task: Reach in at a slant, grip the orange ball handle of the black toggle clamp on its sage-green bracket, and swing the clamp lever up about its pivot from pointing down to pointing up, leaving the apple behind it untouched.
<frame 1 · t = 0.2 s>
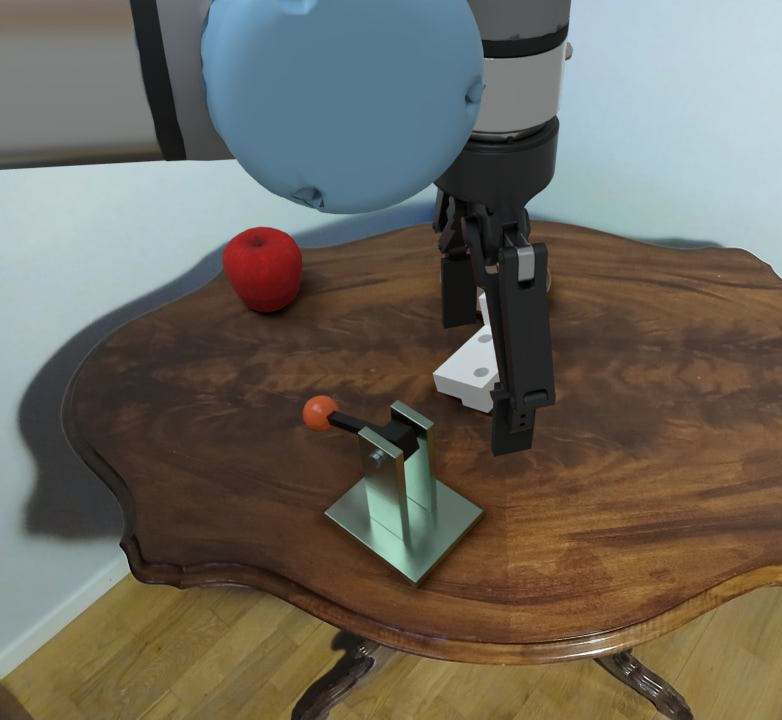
hand: (482, 381, 55), 22 cm above the table, tool pointing down, fingers open, 13 cm apart
saucer: (494, 292, 98), on the table
clamp: (404, 518, 72), on the table
bracket: (488, 370, 88), on the table
clamp lever: (356, 426, 68), point 10 cm above the table, hinge at -20.0°
apple: (272, 304, 96), on the table
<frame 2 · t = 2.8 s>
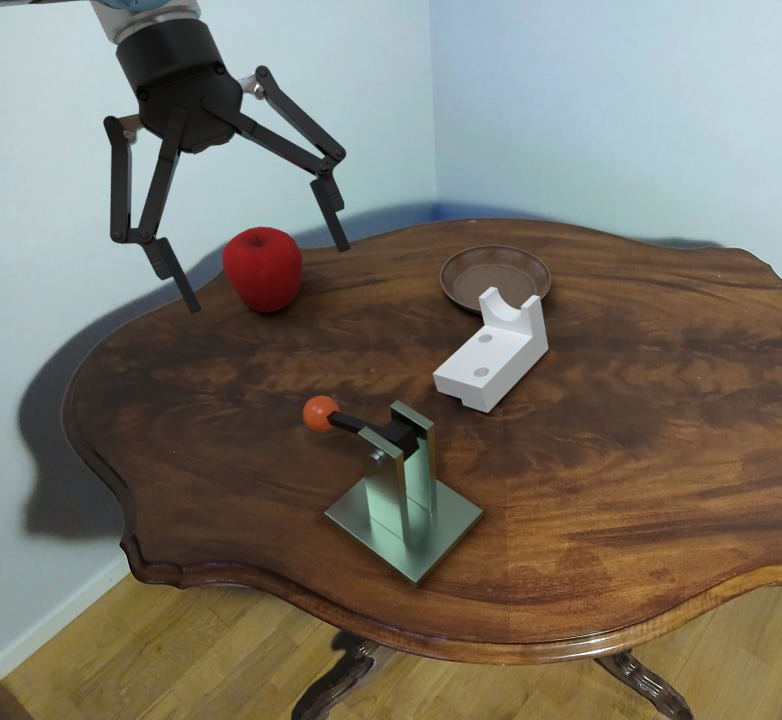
hand: (272, 280, 63), 22 cm above the table, tool tilted 35°, fingers open, 13 cm apart
nothing on the table moved.
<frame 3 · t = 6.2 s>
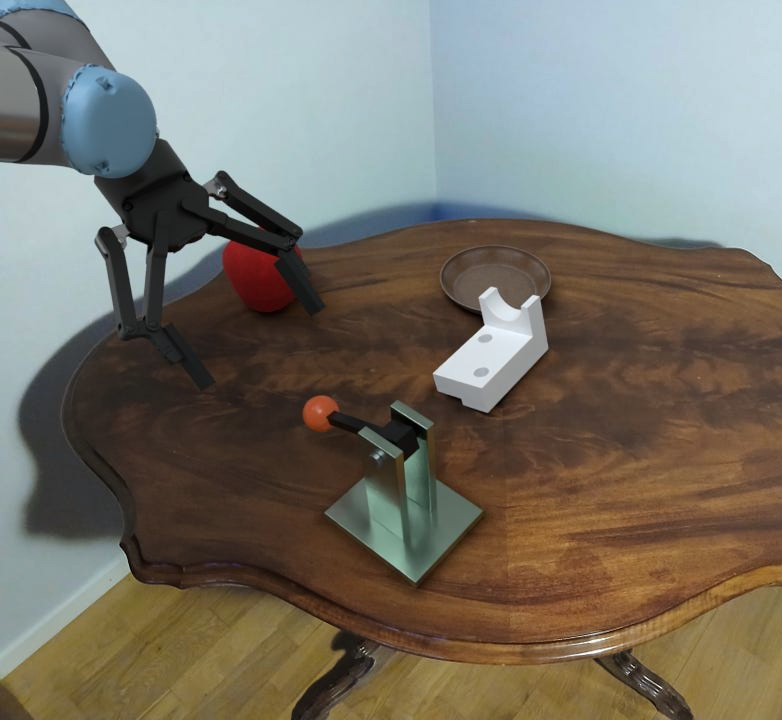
hand: (266, 347, 71), 13 cm above the table, tool tilted 45°, fingers open, 13 cm apart
nothing on the table moved.
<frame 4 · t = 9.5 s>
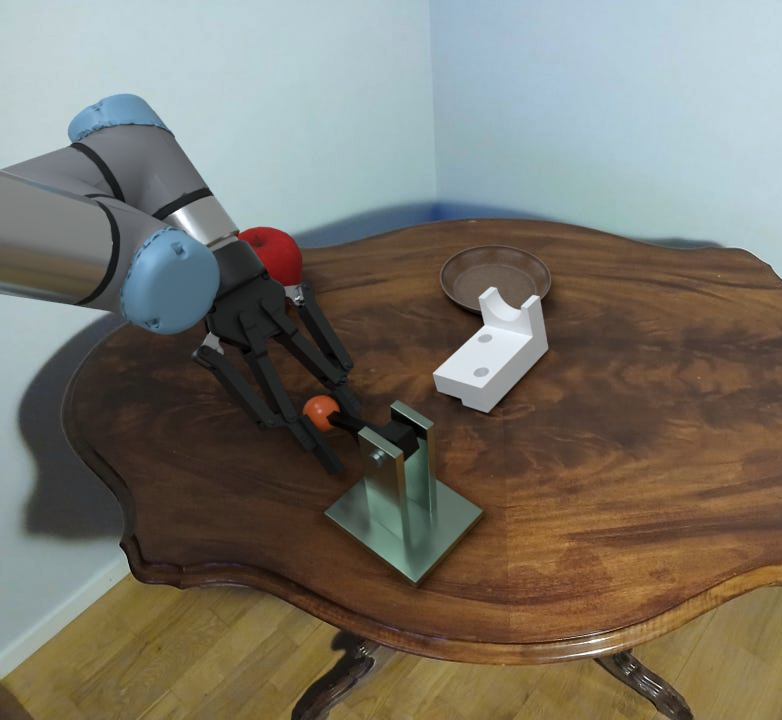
hand: (353, 457, 72), 4 cm above the table, tool tilted 45°, fingers closed on clamp lever, 4 cm apart
clamp lever: (356, 426, 68), point 10 cm above the table, hinge at -20.0°, touching gripper
everything else where it was.
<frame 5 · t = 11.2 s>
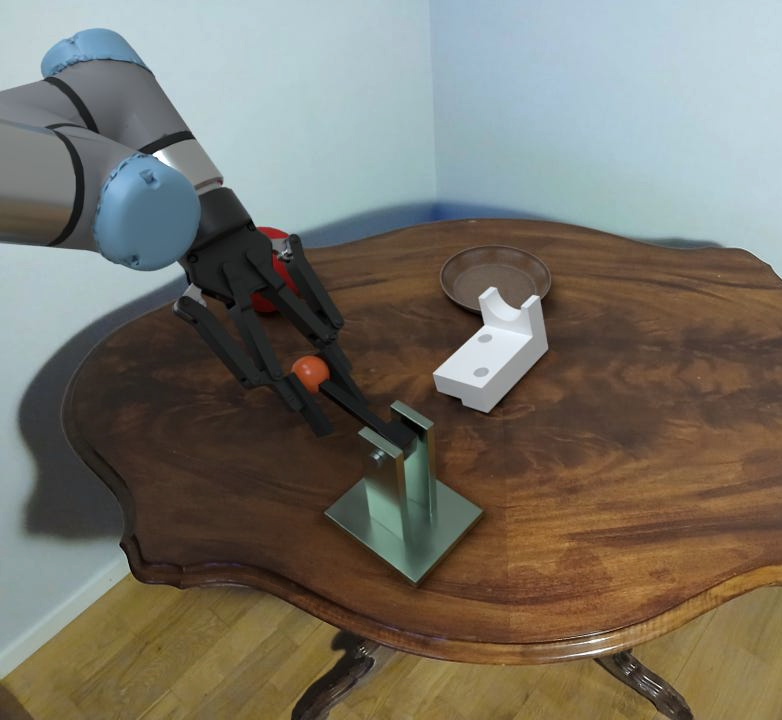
hand: (343, 419, 69), 10 cm above the table, tool tilted 45°, fingers closed on clamp lever, 4 cm apart
clamp lever: (350, 405, 66), point 13 cm above the table, hinge at 6.4°, touching gripper
everything else where it was.
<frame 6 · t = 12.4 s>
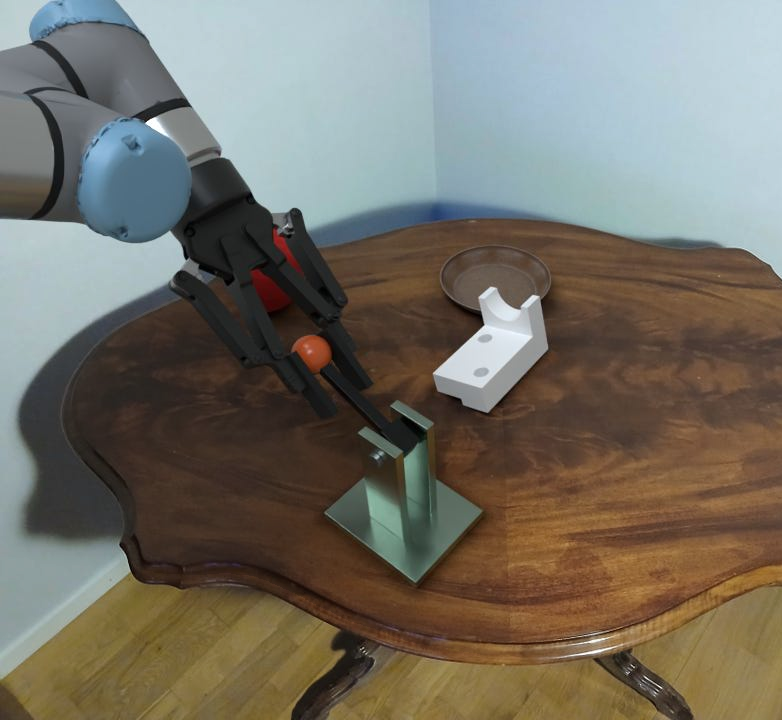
hand: (347, 401, 66), 13 cm above the table, tool tilted 45°, fingers closed on clamp lever, 4 cm apart
clamp lever: (352, 395, 65), point 14 cm above the table, hinge at 23.0°, touching gripper
everything else where it was.
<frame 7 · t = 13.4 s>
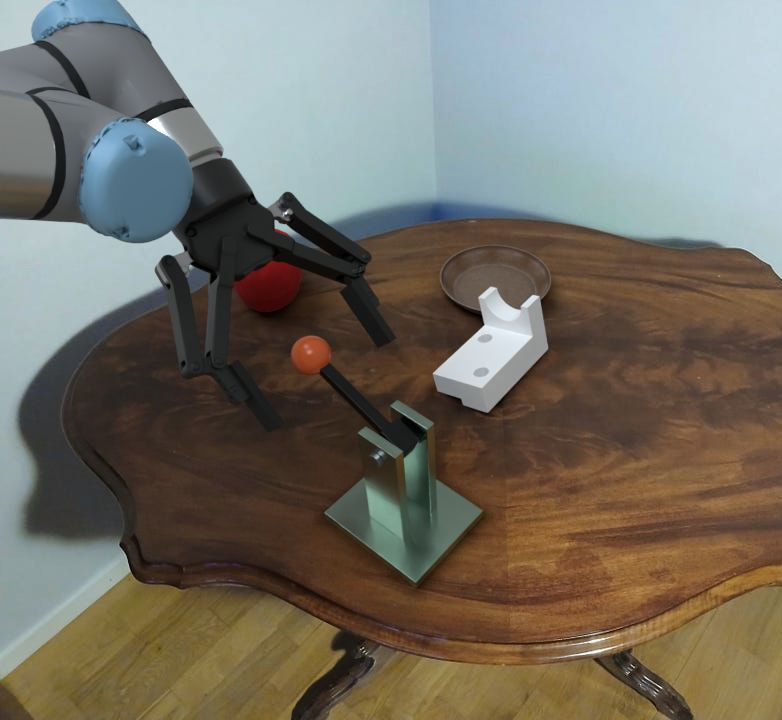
hand: (335, 383, 65), 14 cm above the table, tool tilted 45°, fingers open, 13 cm apart
clamp lever: (352, 396, 65), point 14 cm above the table, hinge at 22.6°
everything else where it was.
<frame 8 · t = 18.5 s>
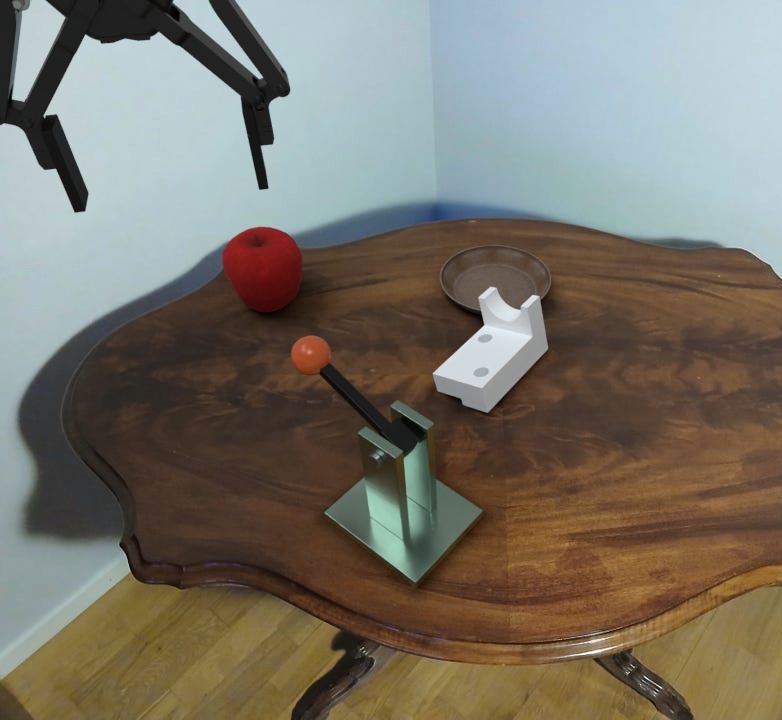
hand: (174, 192, 58), 31 cm above the table, tool pointing down, fingers open, 13 cm apart
nothing on the table moved.
at the end: clamp lever at +23° (first picture: -20°); apple moved 0.2 cm from its start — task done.
